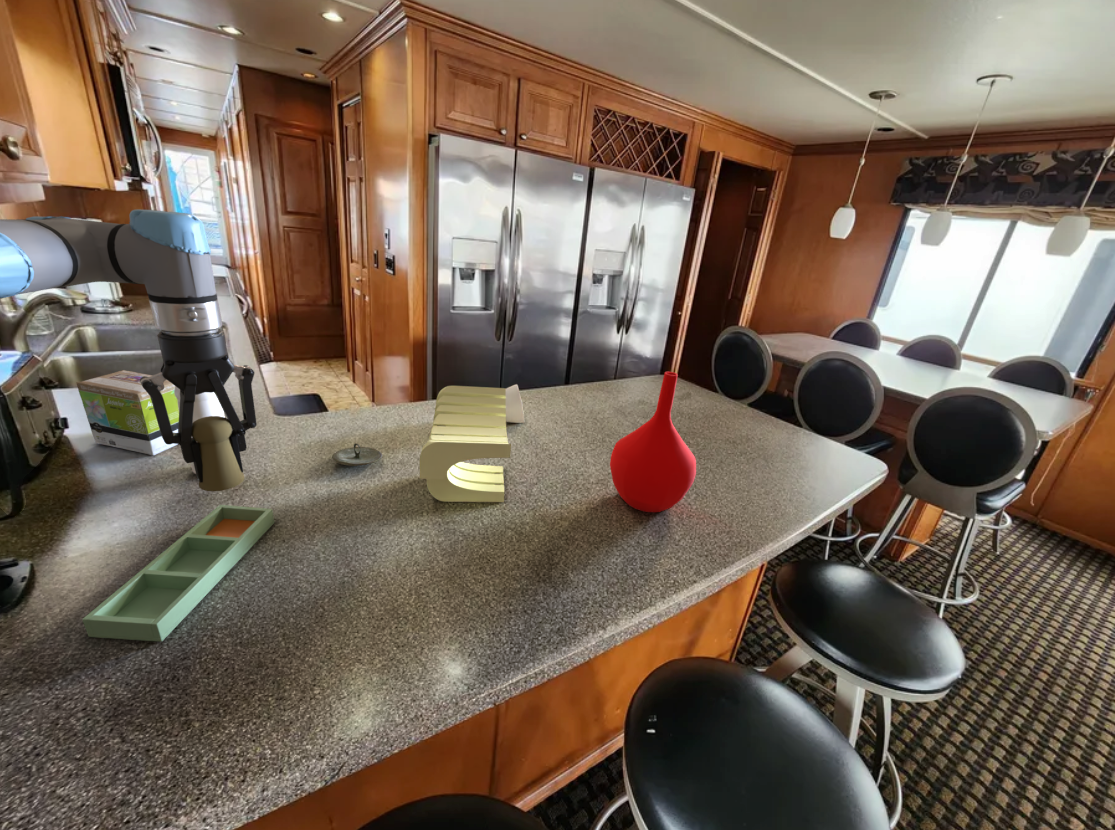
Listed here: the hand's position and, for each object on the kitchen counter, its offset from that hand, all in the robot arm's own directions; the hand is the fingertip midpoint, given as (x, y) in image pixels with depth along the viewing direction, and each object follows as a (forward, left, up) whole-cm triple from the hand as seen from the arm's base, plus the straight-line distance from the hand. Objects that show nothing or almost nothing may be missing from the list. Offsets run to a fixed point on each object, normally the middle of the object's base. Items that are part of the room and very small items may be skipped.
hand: (220, 473), depth 73 cm
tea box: (-38, +30, -13) cm, 50 cm away
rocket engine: (+37, +61, -13) cm, 72 cm away
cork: (0, 0, -2) cm, 2 cm away
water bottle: (-17, +21, -13) cm, 30 cm away
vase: (+76, +23, -13) cm, 80 cm away
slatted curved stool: (+36, +23, -13) cm, 44 cm away
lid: (+10, +29, -13) cm, 33 cm away
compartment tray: (0, -8, -12) cm, 15 cm away
